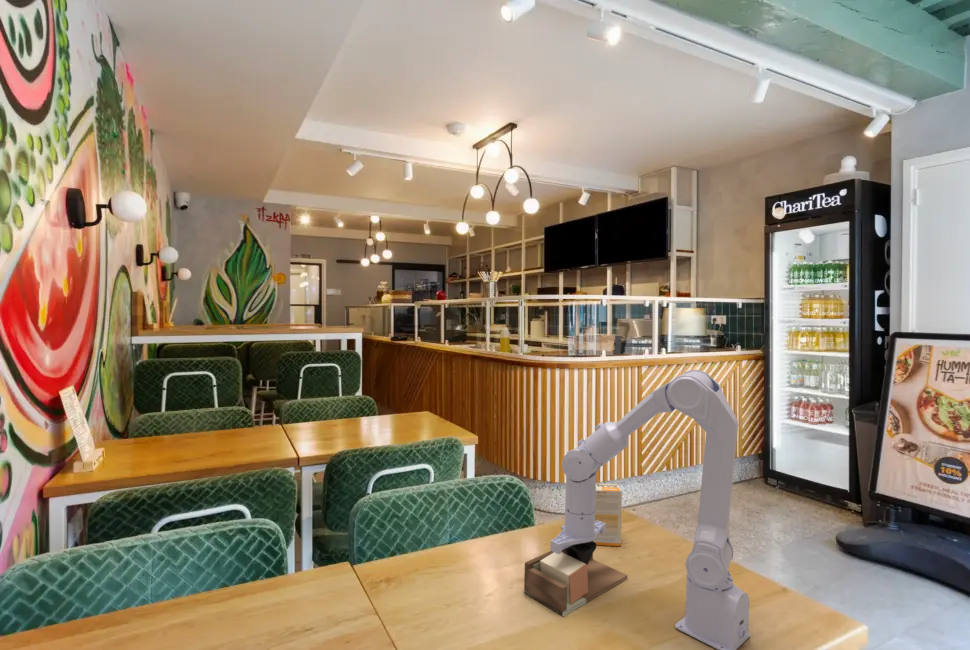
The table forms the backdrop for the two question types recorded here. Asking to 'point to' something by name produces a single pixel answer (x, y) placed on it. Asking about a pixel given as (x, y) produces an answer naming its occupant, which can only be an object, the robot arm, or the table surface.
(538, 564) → the shelf
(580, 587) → the cream rectangular block
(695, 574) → the robot arm
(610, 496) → the supplement box
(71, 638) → the table surface
